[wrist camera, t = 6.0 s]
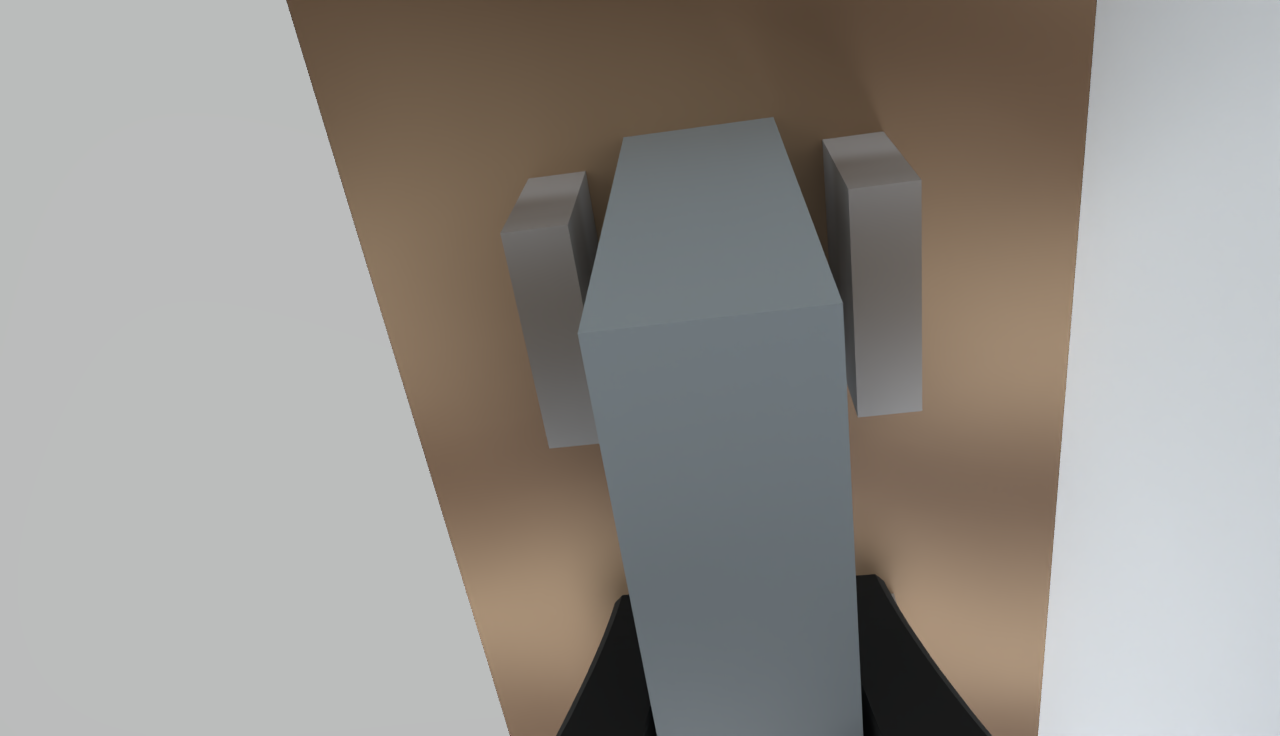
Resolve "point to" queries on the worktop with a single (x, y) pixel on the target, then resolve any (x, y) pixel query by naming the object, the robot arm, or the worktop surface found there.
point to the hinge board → (849, 235)
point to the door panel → (726, 435)
